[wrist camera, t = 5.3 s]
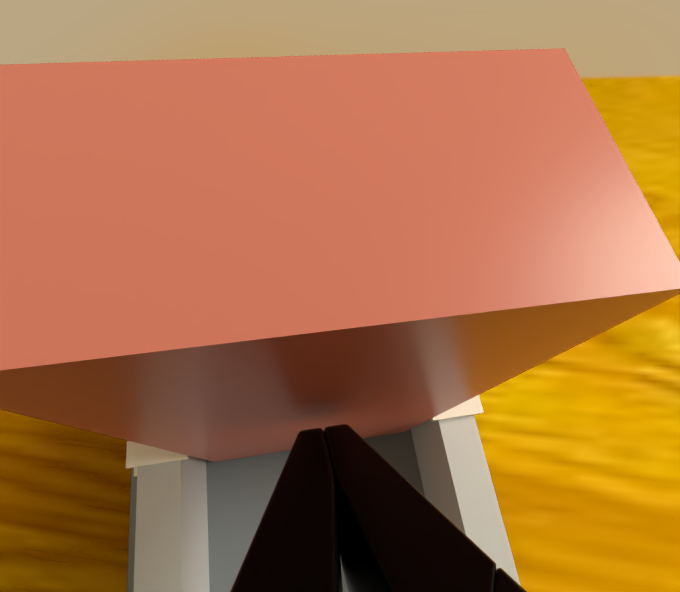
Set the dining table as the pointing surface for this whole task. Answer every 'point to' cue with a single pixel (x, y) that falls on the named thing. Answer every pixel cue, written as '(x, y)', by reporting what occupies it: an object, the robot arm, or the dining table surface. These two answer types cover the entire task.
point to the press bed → (257, 487)
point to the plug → (305, 240)
